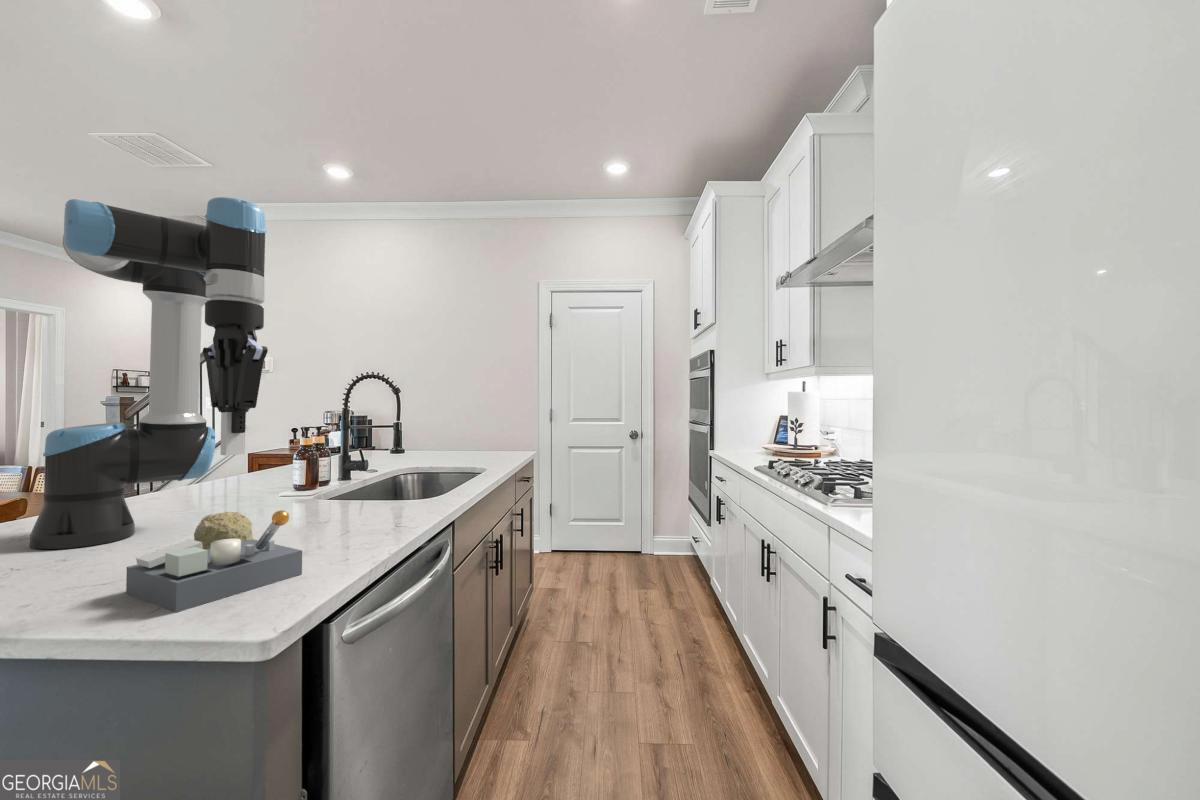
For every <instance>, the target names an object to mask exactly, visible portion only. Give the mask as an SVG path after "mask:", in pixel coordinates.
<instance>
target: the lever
mask: <svg viewBox="0 0 1200 800" xmlns="http://www.w3.org/2000/svg"><path fill="white" fill-rule="evenodd" d="M289 520H290V514H289V512H287V511H286V510H278V511H275V512H274V513H273V514H272V515H271V522H270V524H269V526H268V527H267V528H266V529H265V531H264V532H263V533H262V535H261V536H260V537H259V539H257V540H258V542H257V543H256V544H255V547H256V548H257V549H259V550H262V549H264V547H265V546H266V545H267V543H268V542H269V541H270V540H272V538H273V536H274V535H275V533H277V531H278V530H279V529H280V528H281V526H285V525H286V524H287V523H288V522H289Z"/></svg>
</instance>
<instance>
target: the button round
mask: <svg viewBox="0 0 1200 800" xmlns="http://www.w3.org/2000/svg"><path fill="white" fill-rule="evenodd" d="M240 560H241V540H240V539H223V540H217V541H214V542H212V543H210V564H211V565H227V564H232V563H235V562H238V561H240Z"/></svg>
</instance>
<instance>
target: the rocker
mask: <svg viewBox="0 0 1200 800" xmlns="http://www.w3.org/2000/svg"><path fill="white" fill-rule="evenodd" d="M191 547H197V548H201V549H202V548H203V545H202V542H199V541H195V540H194V539H191V538H190V539H189V538H188V539H186V540H183V541H180V542H177V543H174V544H172V545H169V546H166V547H164V548H159V549H160V550H159V549H156V550H157V551H156V550H155V551H152V552H150V553H149V552H148V553H146V554H143V555H140V556H137V557H136V558H135V560H136V565H141V566H144V567H147V568H151V567H154V566H157V565H159V564H162V563H165V553H168V552H172V551H177V550H182V549H186V548H191Z"/></svg>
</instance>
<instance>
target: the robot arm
mask: <svg viewBox="0 0 1200 800" xmlns="http://www.w3.org/2000/svg"><path fill="white" fill-rule="evenodd" d="M64 205H65V206H64V207H65V208H64V214H63V215H64V217H63V218H64V219H63V236H62V246H63V248H64V249H63V250H64V251H65V253H66V254H67V256H68V257H69V258H70V259H71V260H72V261H73V262H74V263H75V264H77V265H79V267H80V266H81V267H82V268H84V269H85V270H88V271H90V272H92V273H95V274H98V275H101V276H104V277H106V278H110V279H114V280H118V281H123V282H130V283H137V284H142V294H143V295H144V296H145V297H146V298H148V300H149V301H150V302H151V320H150V322H151V323H150V351H149V352H150V357H149V359H150V360H149V388H148V390H149V391H148V393H149V394H148V395H149V397H148V412H147V414H145V415H144V416H142V417H141V418H139V420H138V428H127V425H126V424H125V422H109V423H97V424H96V423H95V424H89V425H88V424H87V425H79V426H71V427H64V428H59V429H54V430H52V431H51V432H49V433H48V434H47V435H46V438H45V442H44V443H45V444H44V452H43V453H42V456H43V457H44V476H43V477H44V481H43V506H42V508H41V510H40V512H39V514H38V517H37V518H36V521H35V523H34V526H33V528H32V530H31V532H30V533H29V534H30V535H29V547H30V548H31V549H38V550H58V549H59V550H60V549H62V550H64V549H75V548H85V547H91V546H96V545H102V544H106V543H107V544H108V543H113V542H117V541H121V540H124V539H126V538H130V537H131V536H134V534H135V528H136V527H135V521H134V518H133V516H132V514H131V511H130V510H129V506H128V505H127V502H126V499H125V486H126V485H131V484H132V485H133V484H144V483H157V482H171V481H178V482H180V481H181V482H182V481H185V480H192V479H193V480H194V479H199V478H202V477H203V476H205V475H206V474H207V473H208V472H209V470H210V467H211V465H212V463H213V459H214V455H215V450H216V432H215V429H214V428H213V427H210V426H207V419H206V418H205V417H204V416H202V414H200V413H199V403H200V401H199V400H200V399H199V398H200V374H201V373H200V369H201V347H202V346H201V339H202V314H203V313H202V312H203V311H202V308H203V307H204V323H205V325H207V326H209V327H212V328H213V329H214V334H213V338H212V343H213V344H212V345H211V347H203V349H202V354H203V358H204V359H205V364H206V372H207V379H208V380H207V381H208V388H209V395H210V396H209V397H210V404H211V408H216V409H217V411H218V412H220V414H221V415H220V417H221V418H220V455H221V456H237V455H246V422H247V421H246V419H247V417H246V416H247V413H248V412H249V410H251V409H255V408H256V407H257V403H258V397H259V390H260V383H261V380H262V373H263V372H262V371H263V366H264V361H265V358H266V357H267V354H268V351H269V349H268V347H267V346H263V345H260V344H259V343H258V337H257V335H256V331H261V330H262V329H264V321H265V309H264V308H263V306H262V304H263V303H265V262H266V261H265V259H266V257H265V255H266V254H265V253H266V250H265V249H266V233H267V228H266V218H265V217H266V215H265V212H264V211H263V209H262V208H261V207H259V206H258V205H257V204H254V203H252V202H249V201H246V200H243V199H238V198H233V197H226V196H225V197H224V196H223V197H221V196H220V197H213V198H211V199H209V200H208V202H207V206H206V213H205V215H204V219H205V222H206V224H205V225H203V224H198V223H196V222H195V223H193V222H189V221H184V220H179V219H175V218H169V217H165V216H161V215H160V216H159V215H154V214H148V213H145V212H140V211H135V210H130V209H125V208H123V207H122V208H121V207H117V206H113V205H108V204H104V203H103V202H98V201H87V200H81V199H76V198H73V199H69V200H67V201H66V203H65V204H64Z"/></svg>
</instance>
